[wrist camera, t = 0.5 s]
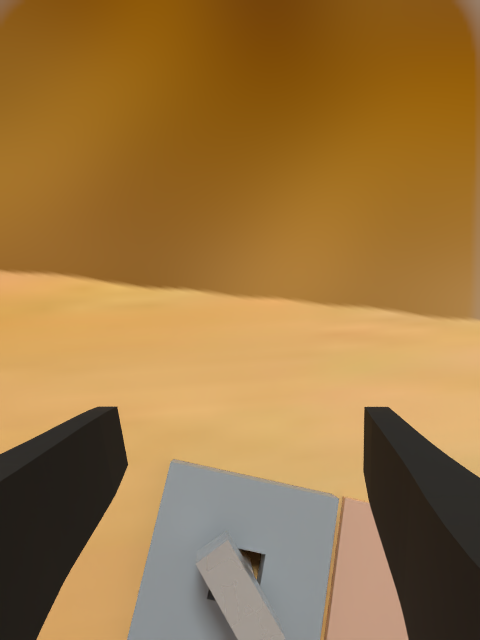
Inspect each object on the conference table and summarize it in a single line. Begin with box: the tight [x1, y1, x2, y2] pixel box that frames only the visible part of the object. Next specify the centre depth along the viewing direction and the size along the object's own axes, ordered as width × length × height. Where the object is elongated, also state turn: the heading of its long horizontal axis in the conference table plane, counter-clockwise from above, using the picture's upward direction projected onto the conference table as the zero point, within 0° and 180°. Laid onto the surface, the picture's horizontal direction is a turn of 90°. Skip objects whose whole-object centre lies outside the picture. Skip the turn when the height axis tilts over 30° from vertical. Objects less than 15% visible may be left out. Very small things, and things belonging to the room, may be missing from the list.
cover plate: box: [127, 459, 339, 640], centre depth 30 cm, size 14×14×2 cm
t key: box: [196, 530, 285, 640], centre depth 28 cm, size 7×3×6 cm, turn 33°
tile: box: [324, 497, 409, 640], centre depth 31 cm, size 12×8×1 cm, turn 168°
